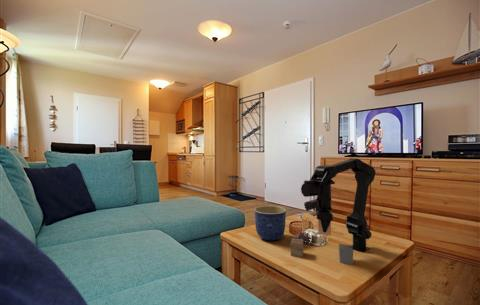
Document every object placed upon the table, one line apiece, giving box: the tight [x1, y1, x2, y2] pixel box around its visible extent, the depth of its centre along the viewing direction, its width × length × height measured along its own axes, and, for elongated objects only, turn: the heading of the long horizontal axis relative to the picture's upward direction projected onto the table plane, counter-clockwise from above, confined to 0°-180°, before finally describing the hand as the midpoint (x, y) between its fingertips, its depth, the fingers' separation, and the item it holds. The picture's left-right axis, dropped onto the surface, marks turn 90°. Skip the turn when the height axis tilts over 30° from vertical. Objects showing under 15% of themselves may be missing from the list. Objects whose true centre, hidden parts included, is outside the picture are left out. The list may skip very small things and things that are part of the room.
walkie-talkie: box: [293, 230, 311, 244], centre depth 119 cm, size 9×4×20 cm
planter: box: [254, 205, 287, 241], centre depth 123 cm, size 17×17×15 cm
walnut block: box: [290, 238, 304, 258], centre depth 103 cm, size 5×5×6 cm
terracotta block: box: [317, 219, 332, 236], centre depth 100 cm, size 5×5×6 cm
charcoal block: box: [338, 243, 354, 265], centre depth 96 cm, size 5×5×6 cm
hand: (324, 230), depth 100 cm, fingers closed on terracotta block, 5 cm apart
